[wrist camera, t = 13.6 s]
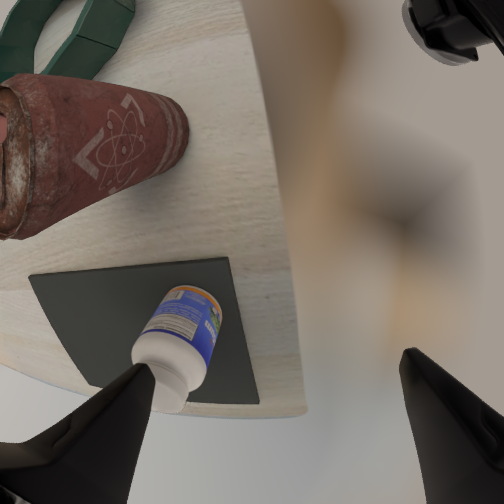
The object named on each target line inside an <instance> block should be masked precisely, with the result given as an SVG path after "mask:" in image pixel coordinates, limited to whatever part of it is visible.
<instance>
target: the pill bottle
mask: <svg viewBox="0 0 504 504" xmlns="http://www.w3.org/2000/svg"><path fill="white" fill-rule="evenodd" d="M221 321H222V311H221V308H220V305H219V304H218V302H217V301H216V299H215V298H214V297H213V296H212V295H211V294H210V293H208V292H207V291H205V290H203V289H201V288H198V287H195V286H190V285H182V286H178V287H175V288H173V289H172V290H170V291H169V292H168V293H167V295H166V296H165V297H164V299H163V300H162V302H161V303H160V305H159V307H158V308H157V310H156V311H155V313H154V314H153V316H152V317H151V319H150V320H149V322H148V324H147V325H146V327H145V328H144V330H143V331H142V333H141V334H140V336H139V337H138V339H137V341H136V342H135V344H134V346H133V348H132V354H131V356H132V362H133V365H134V364H136V363H146V364H147V365H148V366H149V367H150V369H151V371H152V373H153V375H154V376H155V379H156V385H155V390H154V395H153V401H152V406H151V410H154V411H157V412H160V413H166V414H174V413H177V412H180V411H181V410H182V409H183V407H184V404H185V402H186V399H187V397H188V394H189V392H191V391H193V390H195V389H197V388H198V387H199V386H200V385H201V384H202V382H203V380H204V378H205V375H206V372H207V369H208V366H209V362H210V359H211V355H212V352H213V349H214V345H215V342H216V339H217V336H218V332H219V329H220V326H221Z"/></svg>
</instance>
